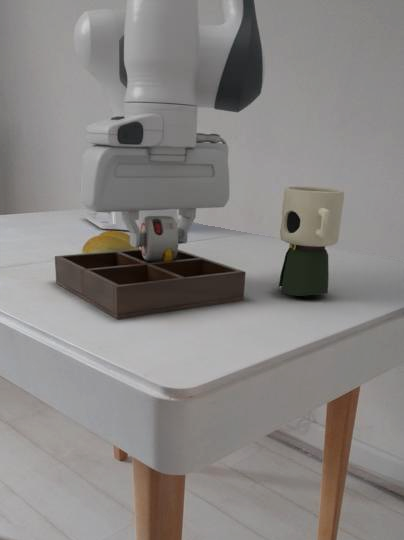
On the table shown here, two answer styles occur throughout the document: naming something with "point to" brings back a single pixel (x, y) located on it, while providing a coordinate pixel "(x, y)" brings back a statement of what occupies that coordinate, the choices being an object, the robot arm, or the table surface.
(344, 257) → the table surface
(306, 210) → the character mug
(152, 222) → the roller toy
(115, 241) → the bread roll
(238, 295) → the grid
